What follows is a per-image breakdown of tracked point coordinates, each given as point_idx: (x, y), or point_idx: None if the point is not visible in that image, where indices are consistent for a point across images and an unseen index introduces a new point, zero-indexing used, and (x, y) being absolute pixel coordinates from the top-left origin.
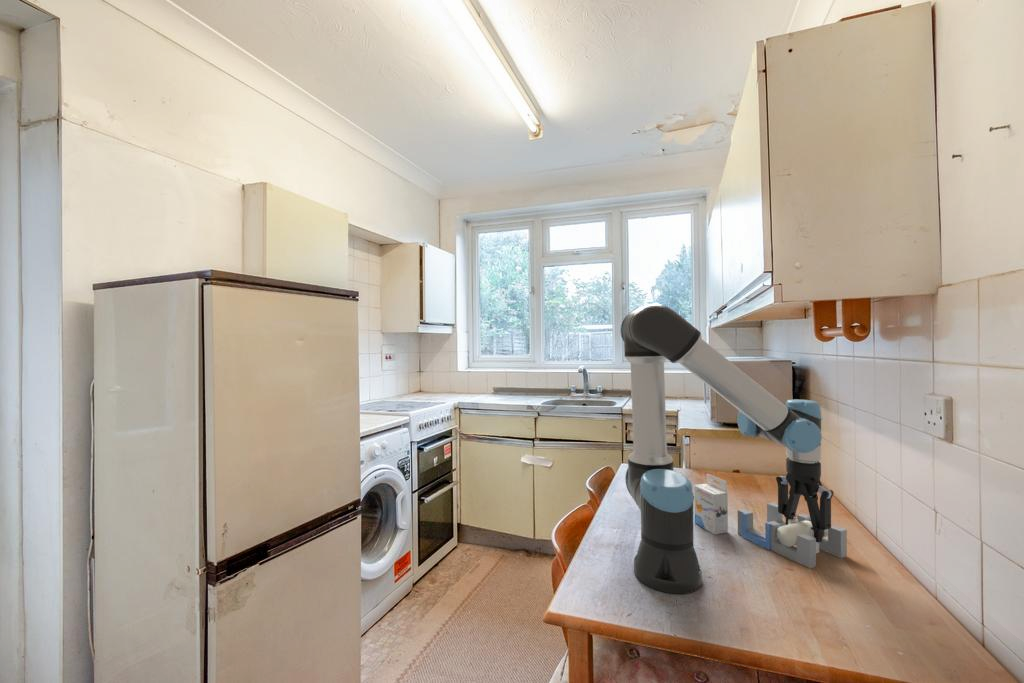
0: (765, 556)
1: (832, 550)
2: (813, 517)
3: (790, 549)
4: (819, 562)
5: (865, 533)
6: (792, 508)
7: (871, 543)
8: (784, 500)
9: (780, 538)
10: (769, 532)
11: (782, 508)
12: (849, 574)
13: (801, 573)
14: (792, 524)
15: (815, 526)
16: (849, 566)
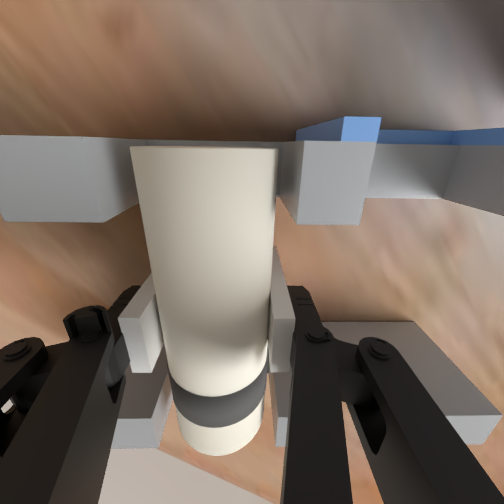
0: (263, 34)
1: None
2: (44, 408)
3: (185, 141)
4: (138, 230)
5: (231, 476)
6: (289, 425)
7: (188, 448)
8: (412, 498)
9: (247, 147)
10: (320, 128)
11: (374, 381)
12: (39, 242)
13: (69, 42)
14: (212, 260)
15: (81, 342)
16: (91, 295)
